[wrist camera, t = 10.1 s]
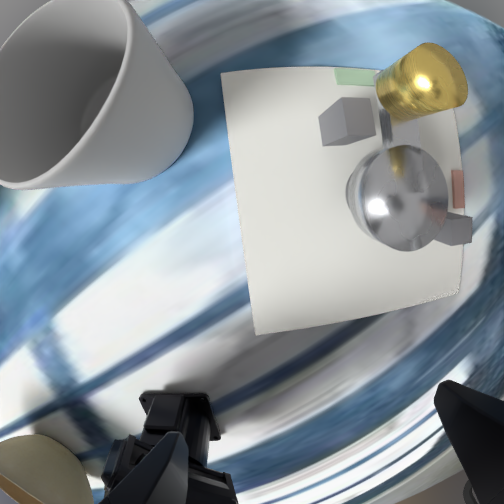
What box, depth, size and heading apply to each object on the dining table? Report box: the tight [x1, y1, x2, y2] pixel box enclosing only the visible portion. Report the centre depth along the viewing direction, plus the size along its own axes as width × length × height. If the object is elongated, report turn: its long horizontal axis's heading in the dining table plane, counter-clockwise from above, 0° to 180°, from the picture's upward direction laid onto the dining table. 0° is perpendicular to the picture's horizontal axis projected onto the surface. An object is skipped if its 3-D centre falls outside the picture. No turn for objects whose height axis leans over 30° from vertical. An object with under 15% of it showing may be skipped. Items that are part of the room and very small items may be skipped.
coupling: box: [348, 43, 468, 252], centre depth 11 cm, size 10×6×6 cm, turn 5°
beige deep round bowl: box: [0, 434, 94, 504], centre depth 20 cm, size 18×18×12 cm
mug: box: [0, 0, 194, 190], centre depth 11 cm, size 12×8×11 cm
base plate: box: [220, 67, 472, 335], centre depth 16 cm, size 18×18×5 cm
